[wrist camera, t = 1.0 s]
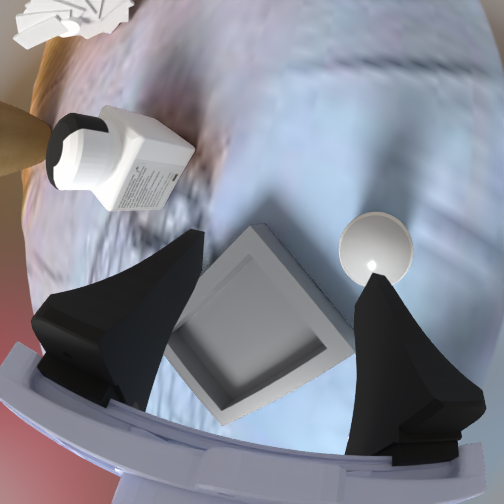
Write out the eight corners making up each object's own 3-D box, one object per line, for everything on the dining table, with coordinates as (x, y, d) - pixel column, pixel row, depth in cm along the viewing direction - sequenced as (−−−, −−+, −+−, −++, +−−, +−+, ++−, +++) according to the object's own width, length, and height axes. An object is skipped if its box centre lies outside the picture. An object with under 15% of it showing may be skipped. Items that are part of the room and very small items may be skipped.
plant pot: (59, 90, 40) (-13, 78, 26) (63, 154, 40) (-22, 151, 25) (28, 135, 47) (-33, 131, 32) (33, 195, 46) (-36, 199, 32)
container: (126, 174, 33) (32, 169, 22) (155, 117, 30) (59, 93, 19) (163, 210, 31) (58, 216, 20) (198, 148, 28) (91, 124, 17)
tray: (359, 337, 24) (355, 352, 21) (235, 411, 31) (222, 426, 28) (264, 223, 26) (249, 225, 24) (165, 324, 33) (148, 332, 31)
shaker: (415, 242, 21) (429, 257, 14) (375, 277, 23) (369, 307, 16) (380, 200, 22) (378, 194, 15) (341, 236, 24) (320, 248, 16)
